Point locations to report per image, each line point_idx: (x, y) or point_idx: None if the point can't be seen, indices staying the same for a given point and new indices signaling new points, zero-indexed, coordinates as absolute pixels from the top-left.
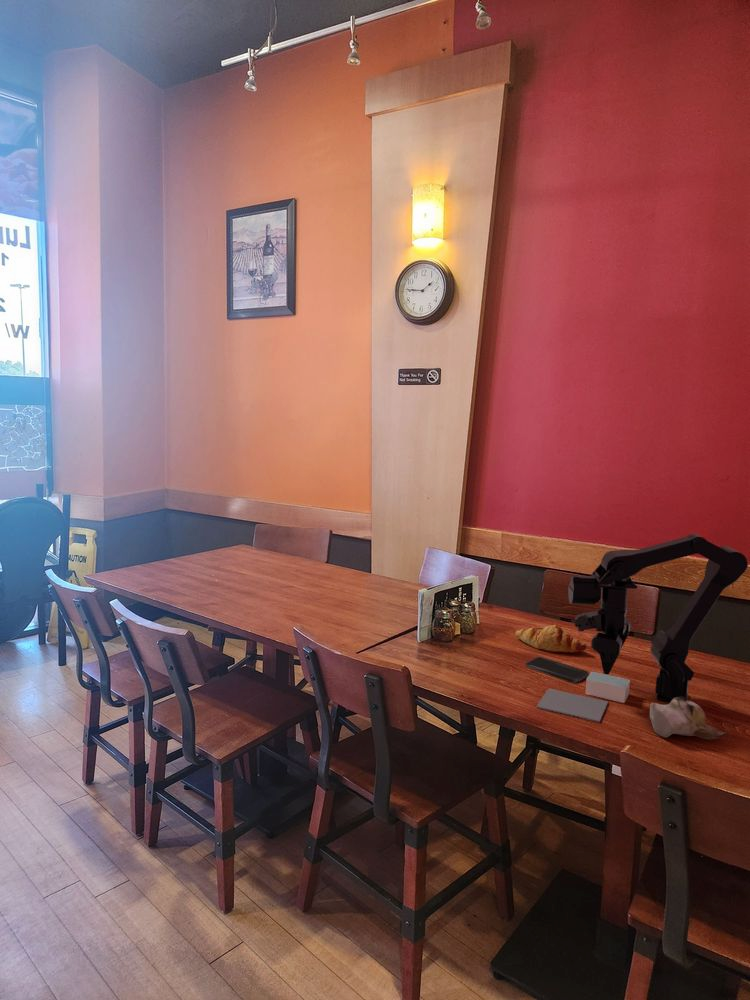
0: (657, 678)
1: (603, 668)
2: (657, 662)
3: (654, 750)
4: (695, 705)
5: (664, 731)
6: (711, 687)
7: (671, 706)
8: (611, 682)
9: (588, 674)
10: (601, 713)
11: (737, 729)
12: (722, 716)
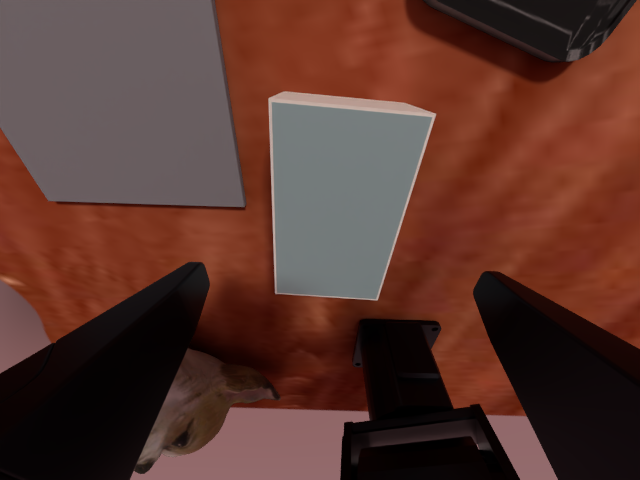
0: (397, 374)
1: (148, 291)
2: (409, 456)
3: (61, 324)
4: (168, 456)
5: None
6: (482, 388)
7: None
8: (303, 242)
9: (555, 60)
10: (117, 198)
11: (287, 406)
12: (331, 396)
